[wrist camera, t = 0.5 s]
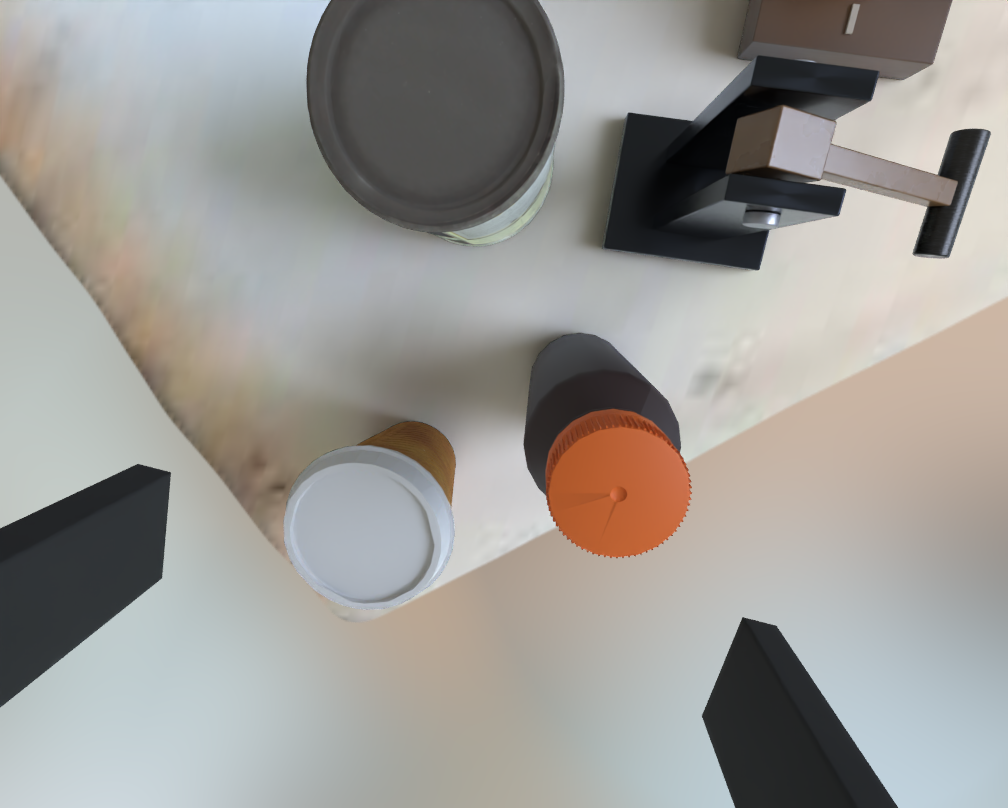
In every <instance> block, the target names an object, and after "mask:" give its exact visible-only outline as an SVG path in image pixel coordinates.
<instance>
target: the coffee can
mask: <svg viewBox="0 0 1008 808" xmlns="http://www.w3.org/2000/svg"><path fill="white" fill-rule="evenodd" d="M307 102H308V110H309V115H310V122H311V126H312V129H313V133H314V136H315V138H316V141H317V144H318V146H319V149H320V151H321V153H322V155H323V157H324V159H325V161H326V163H327V165H328V167H329V168H330V170H331V171H332V173H333V174H334V176H335V177H336V178H337V180H338V181H339V183H340V184H341V185H342V186H343V187H344V189H345V190H346V191H347V192H348V193H349V194H350V195H351V196H352V197H353V198H354V199H355V200H356V201H358V202H359V203H360V204H361V205H362V206H363V207H365V208H366V209H368V210H369V211H371V212H372V213H374V214H375V215H377V216H379V217H381V218H382V219H384V220H386V221H389V222H391V223H393V224H396V225H398V226H401V227H404V228H407V229H412V230H417V231H423V232H427V233H431V234H434V235H437V236H439V237H441V238H443V239H445V240H447V241H450V242H452V243H456V244H460V245H465V246H486V245H491V244H495V243H499V242H501V241H503V240H506V239H508V238H510V237H512V236H513V235H515V234H517V233H518V232H519V231H521V230H522V229H523V228H524V227H526V226H527V225H528V224H529V223H530V222H531V221H532V219H533V218H534V217H535V216H536V214H537V213H538V211H539V210H540V208H541V207H542V205H543V203H544V201H545V198H546V196H547V194H548V191H549V188H550V184H551V180H552V173H553V164H554V160H553V155H554V147H555V141H556V138H557V135H558V131H559V127H560V122H561V117H562V112H563V104H564V70H563V64H562V60H561V55H560V50H559V46H558V42H557V39H556V36H555V33H554V30H553V28H552V25H551V23H550V21H549V19H548V17H547V15H546V13H545V11H544V10H543V8H542V6H541V5H540V3H539V1H538V0H331V1H330V3H329V4H328V6H327V8H326V9H325V11H324V13H323V15H322V17H321V19H320V21H319V24H318V26H317V28H316V31H315V33H314V36H313V40H312V44H311V48H310V52H309V58H308V65H307Z"/></svg>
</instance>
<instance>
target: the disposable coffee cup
mask: <svg viewBox="0 0 1008 808" xmlns="http://www.w3.org/2000/svg"><path fill="white" fill-rule="evenodd" d="M455 467H456V462H455V455H454V451H453V449H452V447H451V445H450V443H449V441H448V440H447V439H446V437H445V436H444V435H443V434H442V433H440V432H439V431H438V430H437V429H435V428H433V427H432V426H430V425H427V424H424V423H420V422H403V423H399V424H396V425H394V426H392V427H390V428H389V429H387V430H385V431H383V432H381V433H379V434H377V435H375V436H373V437H371V438H369V439H367V440H365V441H363V442H361V443H359V444H358V445H356V446H347V447H344V448H340V449H337V450H333V451H331V452H329V453H327V454H325V455H323V456H321V457H319V458H318V459H316V460H314V461H313V462H312V463H311V464H310V465H309V466H308V467H307V468H306V469H305V470H304V471H303V472H302V473H301V474H300V475H299V476H298V478H297V480H296V481H295V483H294V485H293V486H292V488H291V491H290V494H289V497H288V500H287V503H286V514H285V517H284V521H283V523H284V543H285V546H286V549H287V552H288V555H289V558H290V560H291V562H292V564H293V565H294V567H295V569H296V571H297V572H298V573H299V574H300V575H301V577H302V578H303V579H304V580H305V581H306V582H307V583H308V584H309V585H310V586H311V587H312V588H313V589H314V590H315V591H317V592H318V593H320V594H321V595H323V596H324V597H326V598H327V599H329V600H331V601H334V602H336V603H339V604H341V605H344V606H348V607H352V608H356V609H366V610H369V609H385V608H388V607H391V606H395V605H398V604H401V603H403V602H405V601H407V600H409V599H410V598H412V597H414V596H415V595H417V594H418V593H420V592H421V591H423V590H424V589H426V588H427V587H429V586H430V585H431V584H432V583H433V582H434V581H435V580H436V579H437V578H438V577H439V576H440V575H441V573H442V571H443V570H444V568H445V566H446V565H447V563H448V560H449V558H450V555H451V552H452V550H453V543H454V535H455V534H454V519H453V515H452V510H451V503H452V494H453V484H454V474H455Z"/></svg>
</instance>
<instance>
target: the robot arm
mask: <svg viewBox="0 0 1008 808" xmlns="http://www.w3.org/2000/svg"><path fill="white" fill-rule="evenodd" d="M170 477H171V473H170V472H167V471H163V470H160V469H155V468H152V467H147V466H143V465H140V464H137V465H135V466H133V467H130V468H128V469H126V470H124V471H122V472H120V473H118V474H116V475H113V476H111V477H109V478H107V479H105V480H103V481H101V482H99V483H96V484H94V485H92V486H90V487H88V488H86V489H84V490H81V491H79V492H77V493H75V494H73V495H71V496H69V497H66V498H64V499H62V500H60V501H58V502H56V503H54V504H52V505H49V506H47V507H45V508H43V509H41V510H39V511H37V512H35V513H32V514H30V515H28V516H26V517H24V518H22V519H20V520H17V521H15V522H13V523H11V524H9V525H7V526H5V527H2V528H0V707H1V706H3V705H4V704H5V703H6V702H8V701H9V700H10V699H11V698H13V697H14V696H15V695H16V694H18V693H19V692H20V691H21V690H23V689H24V688H25V687H27V686H28V685H29V684H30V683H32V682H33V681H34V680H35V679H36V678H38V677H39V676H40V675H41V674H43V673H44V672H45V671H47V670H48V669H49V668H50V667H51V666H53V665H54V664H55V663H56V662H58V661H59V660H60V659H61V658H63V657H64V656H65V655H66V654H68V653H69V652H70V651H72V650H73V649H74V648H75V647H77V646H78V645H79V644H80V643H81V642H83V641H84V640H85V639H87V638H88V637H89V636H90V635H92V634H93V633H94V632H95V631H97V630H98V629H99V628H100V627H102V626H103V625H104V624H105V623H106V622H108V621H109V620H110V619H111V618H113V617H114V616H115V615H116V614H118V613H119V612H120V611H121V610H123V609H124V608H125V607H126V606H128V605H129V604H130V603H132V602H133V601H134V600H135V599H137V598H138V597H139V596H140V595H141V594H143V593H144V592H145V591H146V590H148V589H149V588H150V587H152V586H153V585H154V584H155V583H157V582H158V581H159V580H160V579H161V578H162V572H163V559H164V547H165V535H166V524H167V512H168V500H169V488H170ZM702 718H703V720H704V723H705V726H706V728H707V731H708V734H709V737H710V740H711V742H712V745H713V748H714V751H715V753H716V756H717V759H718V762H719V764H720V767H721V770H722V773H723V775H724V778H725V781H726V783H727V786H728V789H729V792H730V794H731V797H732V800H733V803H734V805H735V808H898V807H897V805H896V804H895V802H894V801H893V799H892V798H891V797H890V795H889V793H888V792H887V790H886V789H885V787H884V786H883V784H882V783H881V782H880V780H879V778H878V777H877V775H876V774H875V773H874V771H873V769H872V768H871V766H870V765H869V763H868V762H867V761H866V759H865V757H864V756H863V754H862V753H861V751H860V750H859V749H858V747H857V746H856V744H855V742H854V741H853V740H852V738H851V737H850V735H849V734H848V732H847V731H846V729H845V728H844V726H843V725H842V723H841V722H840V720H839V719H838V717H837V716H836V714H835V713H834V711H833V710H832V708H831V707H830V705H829V704H828V702H827V701H826V699H825V698H824V696H823V695H822V694H821V692H820V690H819V689H818V687H817V686H816V684H815V683H814V681H813V680H812V678H811V677H810V675H809V674H808V672H807V671H806V669H805V668H804V666H803V665H802V663H801V662H800V661H799V659H798V658H797V656H796V654H795V653H794V652H793V650H792V649H791V647H790V645H789V644H788V642H787V641H786V640H785V638H784V637H783V635H782V633H781V632H780V631H779V629H778V628H777V626H775V625H771V624H767V623H763V622H759V621H755V620H751V619H747V618H742V620H741V623H740V625H739V627H738V630H737V632H736V635H735V637H734V640H733V642H732V644H731V647H730V649H729V652H728V654H727V657H726V659H725V661H724V664H723V666H722V669H721V671H720V674H719V676H718V678H717V681H716V683H715V686H714V688H713V690H712V693H711V695H710V698H709V700H708V703H707V705H706V707H705V710H704V712H703V715H702Z"/></svg>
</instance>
